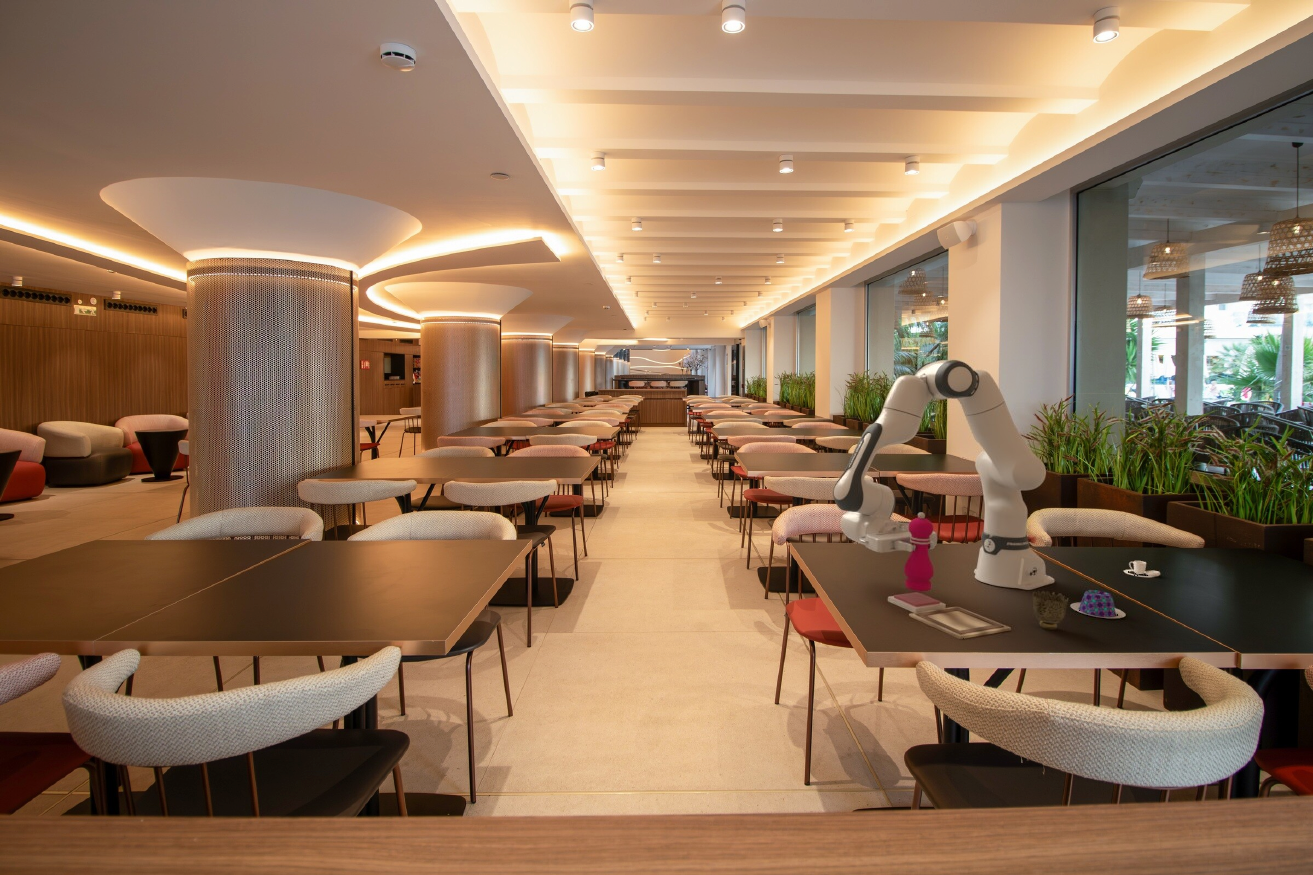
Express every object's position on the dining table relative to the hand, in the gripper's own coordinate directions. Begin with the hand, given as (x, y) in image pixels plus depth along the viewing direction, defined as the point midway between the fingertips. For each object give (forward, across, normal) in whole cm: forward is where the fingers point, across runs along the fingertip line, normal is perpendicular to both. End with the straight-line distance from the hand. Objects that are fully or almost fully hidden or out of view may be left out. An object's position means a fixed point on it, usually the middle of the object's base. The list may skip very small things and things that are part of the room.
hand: (923, 547), depth 177 cm
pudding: (+19, +40, +17) cm, 48 cm away
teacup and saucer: (+3, +86, +18) cm, 88 cm away
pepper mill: (-1, 0, +11) cm, 11 cm away
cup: (+23, +17, +16) cm, 33 cm away
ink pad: (-1, -1, +16) cm, 16 cm away
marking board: (+13, -1, +16) cm, 20 cm away
